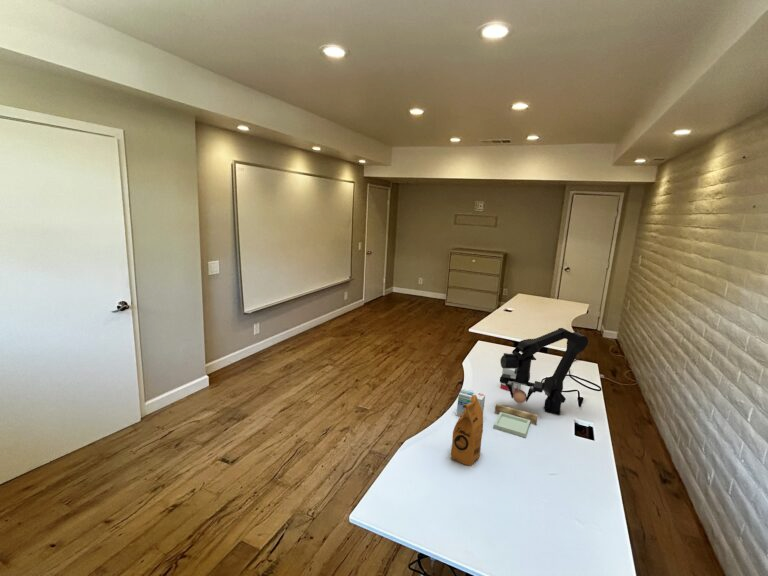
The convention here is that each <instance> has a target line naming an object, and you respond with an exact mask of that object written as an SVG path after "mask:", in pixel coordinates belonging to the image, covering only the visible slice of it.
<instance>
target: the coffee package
mask: <svg viewBox="0 0 768 576" xmlns="http://www.w3.org/2000/svg"><path fill="white" fill-rule="evenodd" d="M463 408H466V409H465V410H464V411H463V413H462V415H461V417H460V416H459V418H458V420H457V422H456V423H455V425H454V429H453V431H452V443H451V450H450V457H451V459H452V460H453V461H457V462H458V463H462V464H463V465H465V466H468V467H469V466H470V467H471V466H472V465H473V464H474V463H475V461H476V460H478V459H479V457H480V454H481V448H482V440H483V439H482V438H483V437H482V436H483V433H484V411H483V412H482V409H481V406H480V404H479V401H478V399H477V396H476V395H473V396H472V397H471V403H470V404H466V405H464V406H463Z"/></svg>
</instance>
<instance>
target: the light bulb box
mask: <svg viewBox="0 0 768 576" xmlns="http://www.w3.org/2000/svg"><path fill="white" fill-rule="evenodd" d="M473 395H476V396H477V399H478V401H479V404H480V406H481V409H482V412H483V413H484V411H485V403H486V402H485V401H486V394H485V393H481V392H478V391H474V390H470V389H466V388H462V389H461V391H459V393H458V397H457V406H456V417H459V418H460V417H461V415H462V413H463V411H464V410H465V409H466V408H463V406H464V405H466V404H470V403H471V397H472V396H473Z"/></svg>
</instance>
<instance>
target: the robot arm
mask: <svg viewBox="0 0 768 576" xmlns="http://www.w3.org/2000/svg"><path fill="white" fill-rule="evenodd" d="M565 339H566V350H565V351H564V354H562V357H561V359H560V361H559V362H558V365H557V366H556V369H555V371H554V372H553V374H552V376H550V377H548V376H546V377H545V379H544V381H537V380H535V381H534V382H531V381H530V379H531V367H532V366H531V365H532V361H536V360H537V358H536V357H535V356H534V355H536V353H538V352H539V351H540V349H542V348H544V347H547V346H549V345H552V344H554V343H558V342H559V341H562V340H565ZM588 344H589V338H588V337H587V336H585V335H584V334H581V333H580V332H576V331H574V332H572V331H569V330H567V329H566V328H564V327H559V328H557V329H556V330H553V331H551V332H547V333H546V334H543V335H541V336H539V337H536V338H528V339H521V340H520V341H519V342H518V343H517V346H516V347H515V348H514V349H513V350H512V351H511V353H507V352H503V355H502V356H501V358H500V366H501V368H502V369H503V368H508V369H515V372H514V374H516V379H514V378H511V375H508V374H502V373H501V376H500V377H499V383H500V384H501V383H504V384H506V386H508V388H509V391H508V392H509V394H510V398H511V399H514V398H513V393H514V383H517V384H521V386H526V387H529V389H528V390H527V391H528V392H527V393H526V395H527V398H526V401H525V402H526V403H528V401H529V399H530V397H531V396H532V394H533V393H534V394H535V393H536V392H537V393H543V392H544V395H545V396H547V397H546V398H545V401H544V407H543V408H544V412H546V413H549V414H554V415H558V416H560V414H561V410H562V409H561V408H562V407H561V406H562V404H563V403H565V402H566V399H567V398H566V397H565V396H564V395H563V394H562V393H563V389H564V380H565V378H566V377H567V374H568V373H569V371H570V369H571V367H572V365H573V364H574V362H575V359H576V358H577V356H578V355H579V354H580V353H582V352H583V351H584V350H585V349H586V348H587V346H588Z"/></svg>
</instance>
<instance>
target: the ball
mask: <svg viewBox="0 0 768 576" xmlns="http://www.w3.org/2000/svg"><path fill="white" fill-rule="evenodd" d="M526 398H527V393H526V392H525V391H524V390H522V389H519V390H516V391H515V392H514V393H513V398H512V399H513V400H514V401H515V402H516V403H517V404H524V403H525V402H526Z"/></svg>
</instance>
